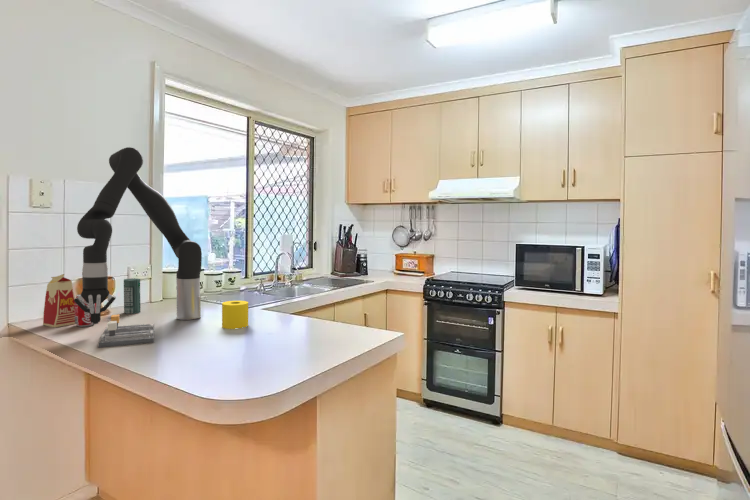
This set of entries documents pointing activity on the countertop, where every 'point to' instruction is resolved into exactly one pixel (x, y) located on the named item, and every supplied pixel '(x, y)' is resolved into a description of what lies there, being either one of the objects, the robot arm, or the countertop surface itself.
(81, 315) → the soda can
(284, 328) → the countertop surface
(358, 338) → the countertop surface
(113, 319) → the fader orange
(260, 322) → the countertop surface
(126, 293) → the can
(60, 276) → the milk carton
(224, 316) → the tape roll
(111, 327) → the white slider knob
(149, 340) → the console
